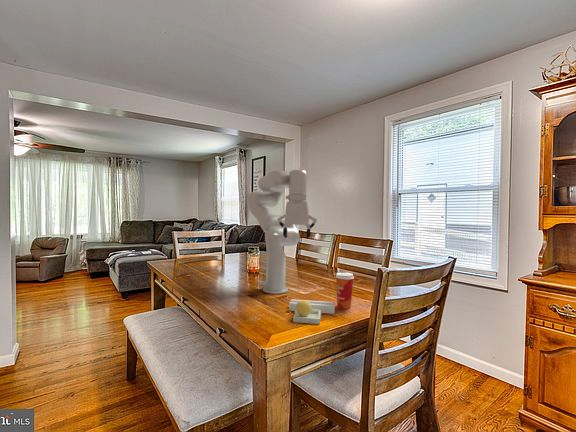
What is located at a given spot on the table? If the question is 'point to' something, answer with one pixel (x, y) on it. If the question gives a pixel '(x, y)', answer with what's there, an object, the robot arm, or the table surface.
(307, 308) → the ball
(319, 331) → the table surface
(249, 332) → the table surface
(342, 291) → the paper cup
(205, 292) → the table surface
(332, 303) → the rails
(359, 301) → the table surface
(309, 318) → the dish
